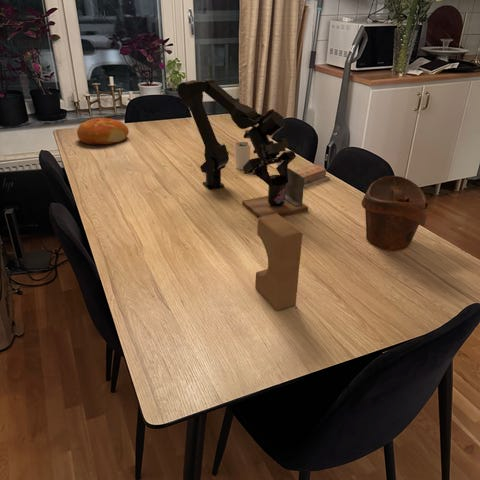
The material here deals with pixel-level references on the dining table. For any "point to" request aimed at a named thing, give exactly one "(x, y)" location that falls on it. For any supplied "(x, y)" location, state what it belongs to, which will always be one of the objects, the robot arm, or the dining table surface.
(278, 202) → the supplement container
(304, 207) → the shelf board
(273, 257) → the decorative block
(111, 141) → the bread
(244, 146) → the white cylindrical container
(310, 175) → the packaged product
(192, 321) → the dining table surface
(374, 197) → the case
